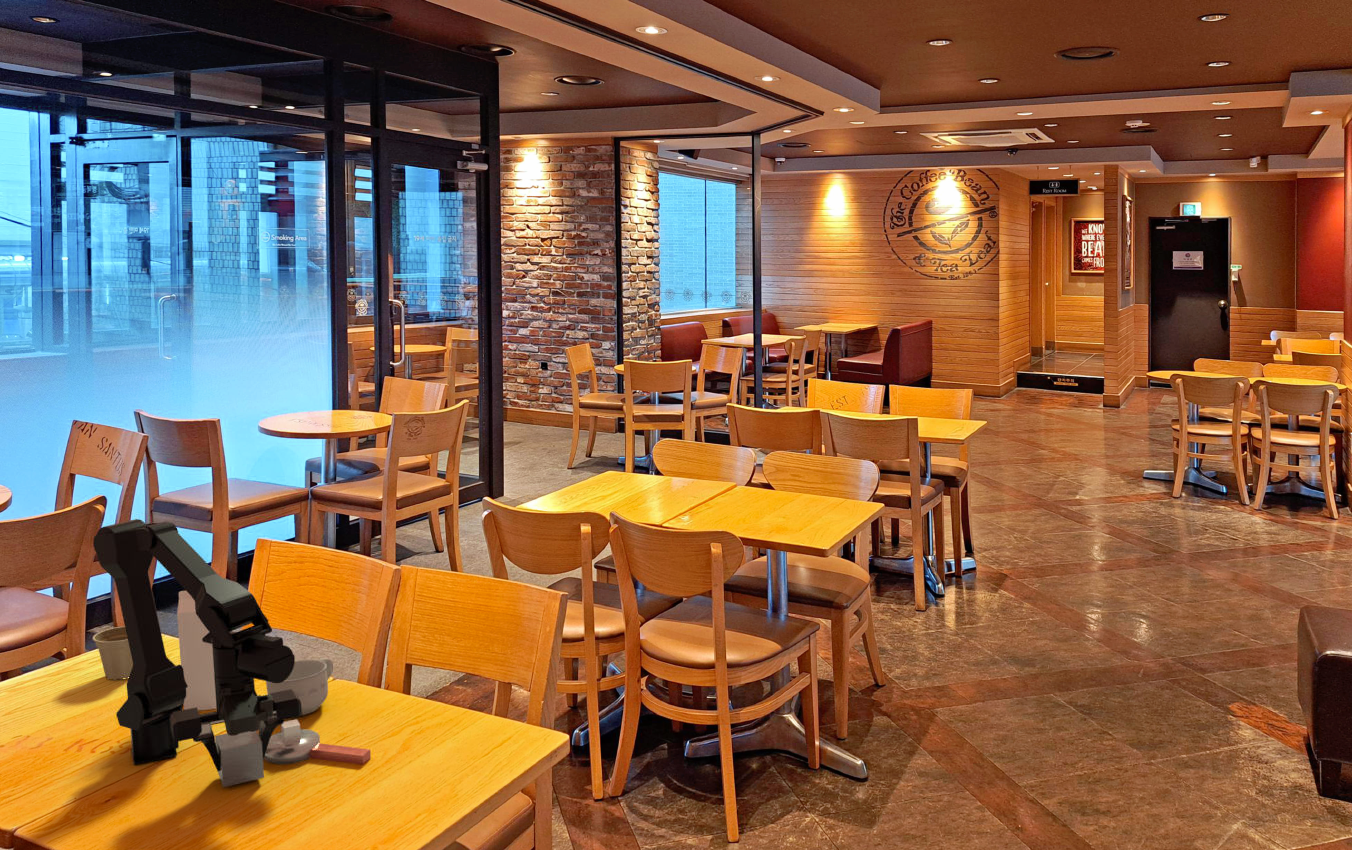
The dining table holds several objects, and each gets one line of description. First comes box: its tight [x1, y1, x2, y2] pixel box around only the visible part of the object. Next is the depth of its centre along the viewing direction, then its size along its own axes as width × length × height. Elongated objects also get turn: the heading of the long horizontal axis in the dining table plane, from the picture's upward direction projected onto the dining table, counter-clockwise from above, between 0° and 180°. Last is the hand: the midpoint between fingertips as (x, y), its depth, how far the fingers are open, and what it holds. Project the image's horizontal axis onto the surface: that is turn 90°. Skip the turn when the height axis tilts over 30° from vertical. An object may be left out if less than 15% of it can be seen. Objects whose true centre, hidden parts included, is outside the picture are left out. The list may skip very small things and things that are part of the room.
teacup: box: [265, 657, 334, 716], centre depth 198 cm, size 14×11×8 cm
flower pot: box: [92, 625, 133, 680], centre depth 213 cm, size 9×9×9 cm
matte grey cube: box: [214, 730, 265, 788], centre depth 170 cm, size 6×6×6 cm
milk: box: [176, 590, 217, 712], centre depth 198 cm, size 6×6×22 cm
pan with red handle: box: [264, 718, 372, 765], centre depth 178 cm, size 18×9×5 cm, turn 76°
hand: (239, 765), depth 170 cm, fingers closed on matte grey cube, 6 cm apart
